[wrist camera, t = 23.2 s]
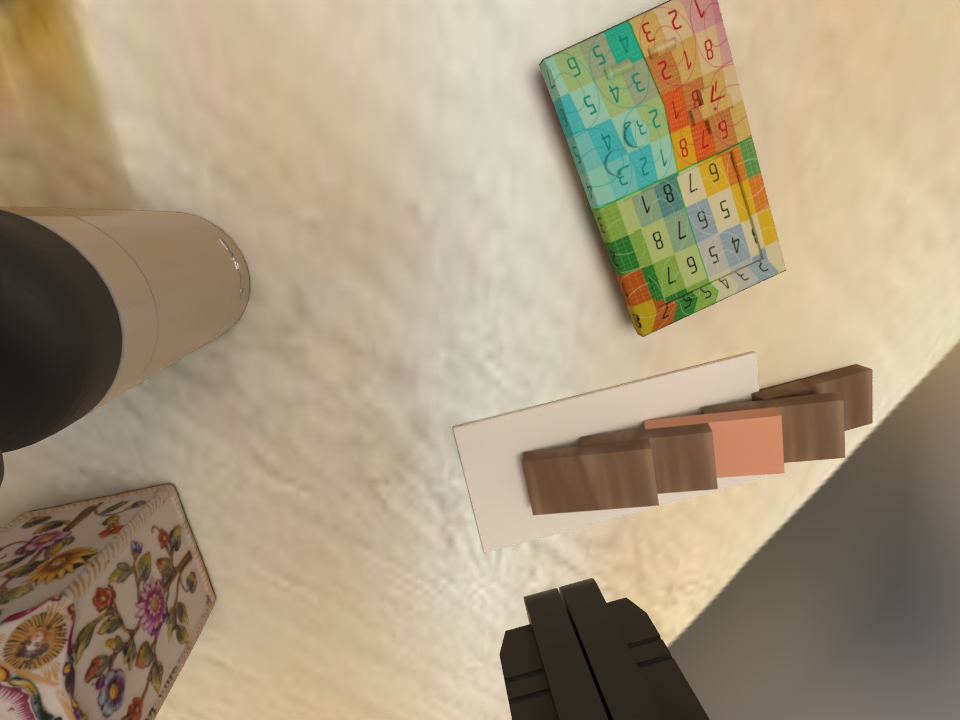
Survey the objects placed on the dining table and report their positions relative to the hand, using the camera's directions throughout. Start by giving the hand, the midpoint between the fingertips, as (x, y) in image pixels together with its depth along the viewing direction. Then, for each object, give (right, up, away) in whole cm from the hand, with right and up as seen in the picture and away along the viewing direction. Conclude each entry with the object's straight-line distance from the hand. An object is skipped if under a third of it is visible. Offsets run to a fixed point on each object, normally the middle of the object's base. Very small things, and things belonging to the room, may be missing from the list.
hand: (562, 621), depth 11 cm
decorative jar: (-30, -10, +32) cm, 45 cm away
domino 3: (+12, -2, +33) cm, 36 cm away
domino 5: (+22, 0, +34) cm, 40 cm away
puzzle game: (+11, +19, +29) cm, 37 cm away
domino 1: (+2, -5, +33) cm, 33 cm away
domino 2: (+7, -4, +33) cm, 34 cm away
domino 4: (+17, -1, +34) cm, 38 cm away
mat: (+10, -3, +34) cm, 36 cm away
